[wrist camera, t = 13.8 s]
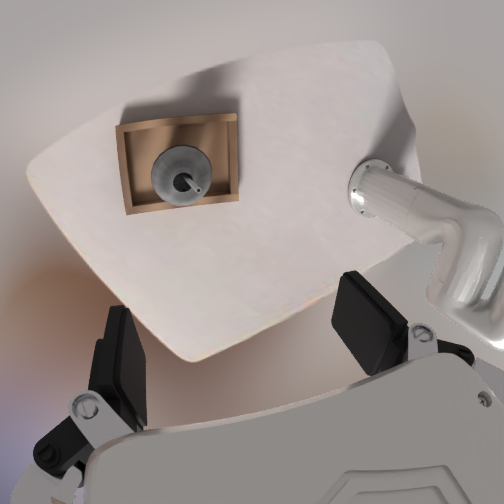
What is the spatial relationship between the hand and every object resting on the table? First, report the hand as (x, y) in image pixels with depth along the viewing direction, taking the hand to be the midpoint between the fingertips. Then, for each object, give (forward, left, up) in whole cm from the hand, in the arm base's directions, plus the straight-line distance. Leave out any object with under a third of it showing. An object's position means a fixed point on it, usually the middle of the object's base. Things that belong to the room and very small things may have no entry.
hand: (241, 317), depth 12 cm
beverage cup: (+1, -1, -35) cm, 35 cm away
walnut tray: (+1, -1, -36) cm, 36 cm away
